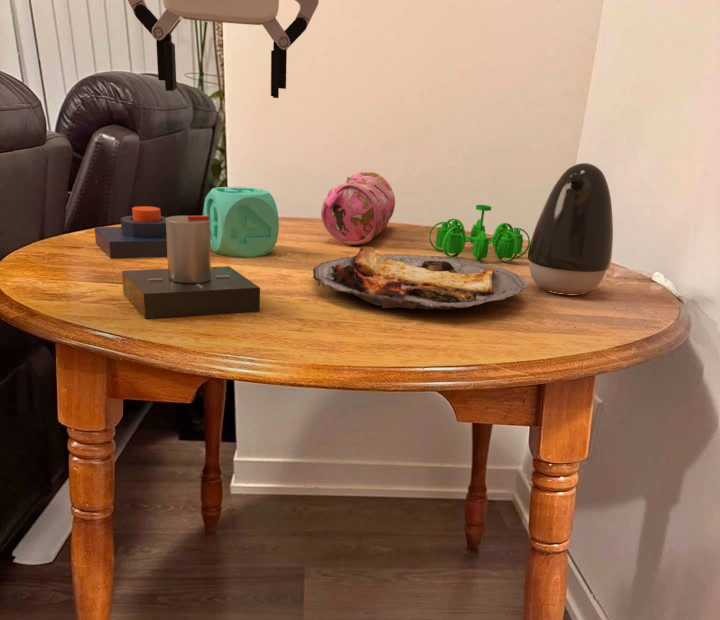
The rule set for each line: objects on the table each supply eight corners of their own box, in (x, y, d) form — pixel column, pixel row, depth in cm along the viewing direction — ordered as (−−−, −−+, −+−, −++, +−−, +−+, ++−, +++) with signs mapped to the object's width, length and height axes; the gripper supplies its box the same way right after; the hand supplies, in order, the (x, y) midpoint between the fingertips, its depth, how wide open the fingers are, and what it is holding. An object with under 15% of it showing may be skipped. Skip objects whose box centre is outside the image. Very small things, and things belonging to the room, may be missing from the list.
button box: (110, 259, 98) (108, 226, 97) (95, 243, 106) (93, 213, 104) (203, 256, 104) (202, 225, 102) (182, 241, 111) (181, 212, 109)
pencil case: (341, 222, 134) (344, 168, 130) (394, 227, 134) (398, 172, 129) (317, 245, 116) (320, 181, 111) (379, 250, 115) (383, 187, 111)
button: (136, 224, 101) (135, 210, 100) (130, 219, 104) (129, 206, 103) (164, 224, 103) (163, 210, 102) (157, 219, 105) (156, 206, 105)
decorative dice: (278, 256, 106) (279, 195, 103) (223, 259, 103) (222, 195, 99) (257, 245, 113) (257, 186, 109) (203, 246, 109) (202, 186, 105)
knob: (174, 284, 79) (171, 220, 76) (163, 274, 83) (160, 212, 80) (216, 282, 81) (215, 219, 78) (204, 272, 84) (202, 212, 82)
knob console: (145, 319, 77) (143, 292, 75) (123, 293, 84) (121, 269, 83) (260, 311, 82) (260, 285, 80) (229, 288, 89) (229, 264, 88)
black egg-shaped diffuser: (511, 291, 97) (532, 160, 90) (535, 277, 105) (555, 156, 98) (593, 305, 93) (621, 170, 86) (611, 289, 101) (637, 165, 94)
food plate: (277, 296, 88) (277, 264, 86) (361, 262, 107) (362, 235, 105) (491, 335, 79) (496, 301, 78) (540, 290, 98) (545, 262, 97)
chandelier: (522, 248, 123) (530, 203, 120) (532, 268, 110) (540, 218, 107) (428, 241, 124) (433, 195, 121) (426, 259, 111) (432, 209, 108)
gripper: (105, -156, 61) (122, 88, 69) (325, -133, 63) (317, 101, 71) (120, -134, 67) (134, 87, 75) (319, -114, 70) (313, 99, 77)
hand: (223, 93), depth 73 cm, fingers open, 9 cm apart
